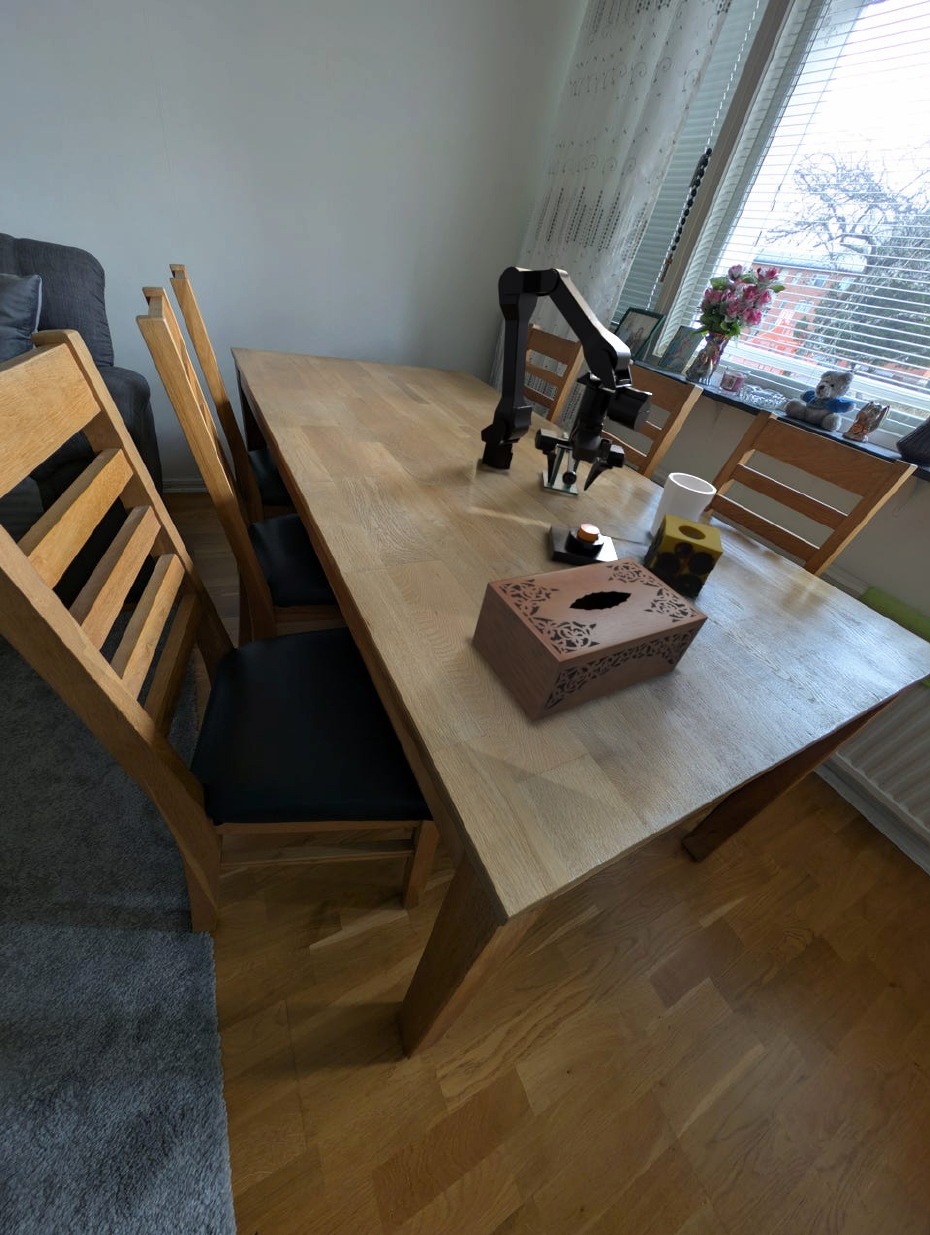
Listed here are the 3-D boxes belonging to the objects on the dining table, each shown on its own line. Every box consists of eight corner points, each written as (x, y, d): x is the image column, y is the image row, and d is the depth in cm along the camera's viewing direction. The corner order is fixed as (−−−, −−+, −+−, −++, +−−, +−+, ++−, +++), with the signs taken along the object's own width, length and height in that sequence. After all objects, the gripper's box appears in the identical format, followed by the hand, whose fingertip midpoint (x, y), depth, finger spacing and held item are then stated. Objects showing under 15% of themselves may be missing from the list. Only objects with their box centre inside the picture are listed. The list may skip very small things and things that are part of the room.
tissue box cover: (532, 722, 56) (559, 661, 50) (471, 642, 65) (488, 582, 59) (673, 670, 69) (708, 616, 63) (606, 609, 78) (631, 557, 72)
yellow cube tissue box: (694, 574, 93) (720, 529, 87) (697, 601, 86) (726, 553, 79) (642, 556, 95) (665, 511, 89) (641, 581, 87) (665, 533, 81)
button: (578, 539, 87) (581, 531, 86) (576, 530, 90) (579, 522, 89) (597, 543, 87) (600, 535, 86) (594, 534, 90) (598, 526, 89)
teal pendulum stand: (576, 498, 111) (594, 448, 104) (543, 491, 111) (558, 440, 104) (572, 481, 119) (589, 434, 112) (541, 474, 119) (555, 426, 112)
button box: (550, 560, 87) (557, 541, 84) (547, 534, 94) (554, 516, 92) (614, 574, 87) (623, 555, 85) (606, 547, 95) (614, 529, 93)
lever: (573, 490, 105) (578, 480, 102) (559, 487, 105) (564, 476, 102) (576, 447, 111) (581, 436, 108) (563, 444, 111) (567, 433, 108)
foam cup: (691, 544, 104) (722, 488, 96) (675, 556, 98) (707, 497, 90) (652, 524, 108) (679, 469, 100) (634, 534, 102) (661, 477, 94)
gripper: (548, 414, 89) (525, 492, 99) (644, 436, 90) (613, 511, 100) (545, 399, 98) (525, 471, 108) (633, 419, 99) (605, 489, 109)
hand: (566, 486), depth 106 cm, fingers open, 8 cm apart
